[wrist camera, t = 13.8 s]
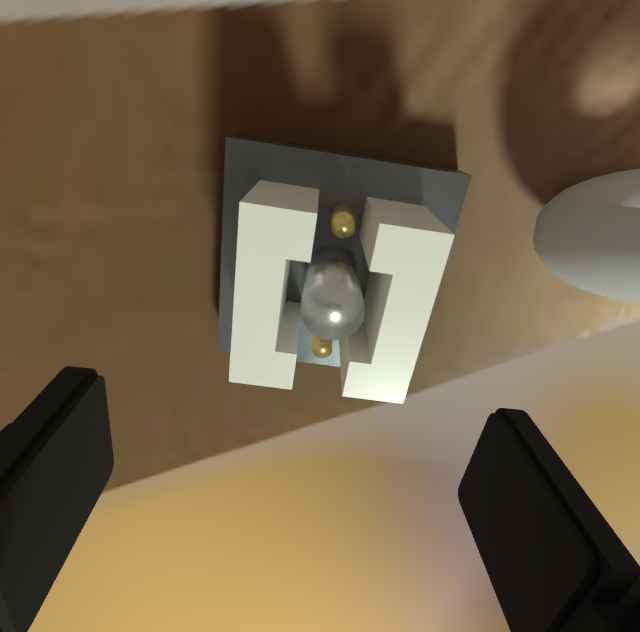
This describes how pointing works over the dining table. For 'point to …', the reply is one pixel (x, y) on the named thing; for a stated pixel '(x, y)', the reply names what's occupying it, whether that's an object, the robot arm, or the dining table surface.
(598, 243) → the donut
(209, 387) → the dining table surface
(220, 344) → the post base
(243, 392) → the dining table surface
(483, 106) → the dining table surface
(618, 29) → the dining table surface
